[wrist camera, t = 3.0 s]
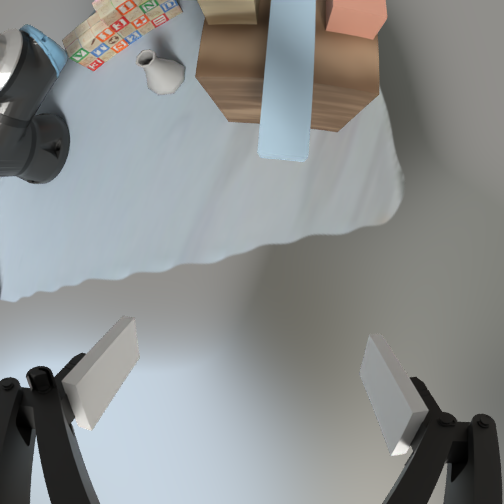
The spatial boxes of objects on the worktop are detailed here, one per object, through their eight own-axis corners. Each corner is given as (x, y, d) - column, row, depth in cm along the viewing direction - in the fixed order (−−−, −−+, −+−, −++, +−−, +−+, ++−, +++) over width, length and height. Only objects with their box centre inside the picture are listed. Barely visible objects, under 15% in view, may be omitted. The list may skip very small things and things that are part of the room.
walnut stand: (337, 132, 46) (379, 94, 25) (228, 121, 47) (195, 77, 26) (340, 59, 43) (373, -9, 22) (236, 49, 44) (213, -23, 23)
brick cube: (372, 39, 24) (387, 17, 19) (325, 30, 24) (333, 6, 19) (370, 5, 22) (382, -18, 18) (325, -4, 23) (331, -29, 18)
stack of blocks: (93, 72, 47) (58, 54, 35) (85, 54, 46) (52, 34, 34) (183, 12, 43) (163, -22, 31) (171, -5, 42) (151, -37, 30)
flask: (157, 58, 46) (135, 36, 36) (192, 64, 46) (175, 41, 36) (142, 92, 47) (117, 75, 37) (177, 99, 47) (156, 82, 37)
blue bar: (303, 161, 27) (308, 157, 23) (260, 157, 27) (257, 152, 23) (312, -20, 22) (315, -41, 18) (275, -24, 23) (275, -44, 19)
